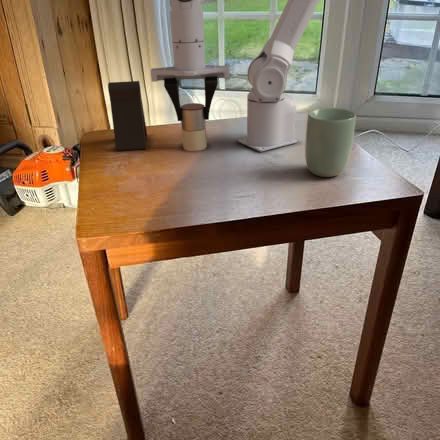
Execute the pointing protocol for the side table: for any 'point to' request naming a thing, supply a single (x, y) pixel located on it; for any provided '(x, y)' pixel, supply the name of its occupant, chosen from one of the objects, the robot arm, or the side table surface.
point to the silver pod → (193, 117)
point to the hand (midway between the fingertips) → (193, 119)
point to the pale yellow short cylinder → (194, 140)
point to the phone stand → (127, 115)
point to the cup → (329, 140)
